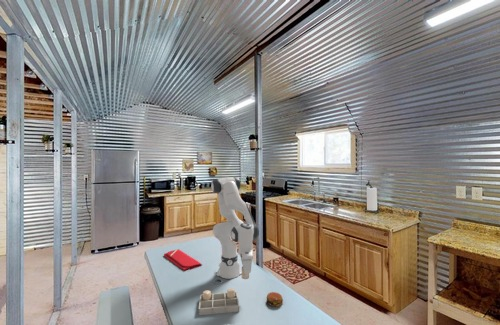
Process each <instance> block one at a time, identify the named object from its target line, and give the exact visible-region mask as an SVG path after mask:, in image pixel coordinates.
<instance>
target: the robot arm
mask: <svg viewBox="0 0 500 325" xmlns="http://www.w3.org/2000/svg"><path fill="white" fill-rule="evenodd" d="M210 185H211V187H210V188H211V190H212V193H214V194H218V196H217V197H218V199H217V200H218V207H219V208H218V210H219V214H220V215H221V217H224V218H225V219H226V221H224V222H220V223H216V224H215V225H213V227H212V235H213V236H214V237H215V238H216V239H217V240H218V241H219V242H220V245H221V257H220V259H221V261H220V262H219V263H218V267H219V268H218V270H217V272H216V276H218V277H220V278H223V279H235V278H237V277H239V276H242V269H241V267H240V266H241V265H242V266H243V269H244V275H245V277H247V276H248V273H249V274H251V272H252V266H253V265H252V262H253V259H254V244H253V241H256V240H257V239H258V237H259V236H260V230H259V227H258V226H257V223H256V222H255V220H254V217H253V215H252V212H251V210H250V208H249V206H248V204H247V203H246V202H245V201H244V200H243V199H242V197H241V196H240V192H239V190H240V189H241V186H242V184H241V180H240V178H239V177H238V176H237V177H236V176H234V177H232V176H231V177H223V178H219V179H218V178H216V179H213V180H212V181H211V184H210ZM236 212H239V213H241V214H242V215H243V217H244V220H245V222H243V220H241V219H240V218H239V217H238V215H237V213H236ZM237 243H238V245H237ZM238 255H239V257H240V261H241V265H240V262H239V261H238V259H239V258H238Z"/></svg>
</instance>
